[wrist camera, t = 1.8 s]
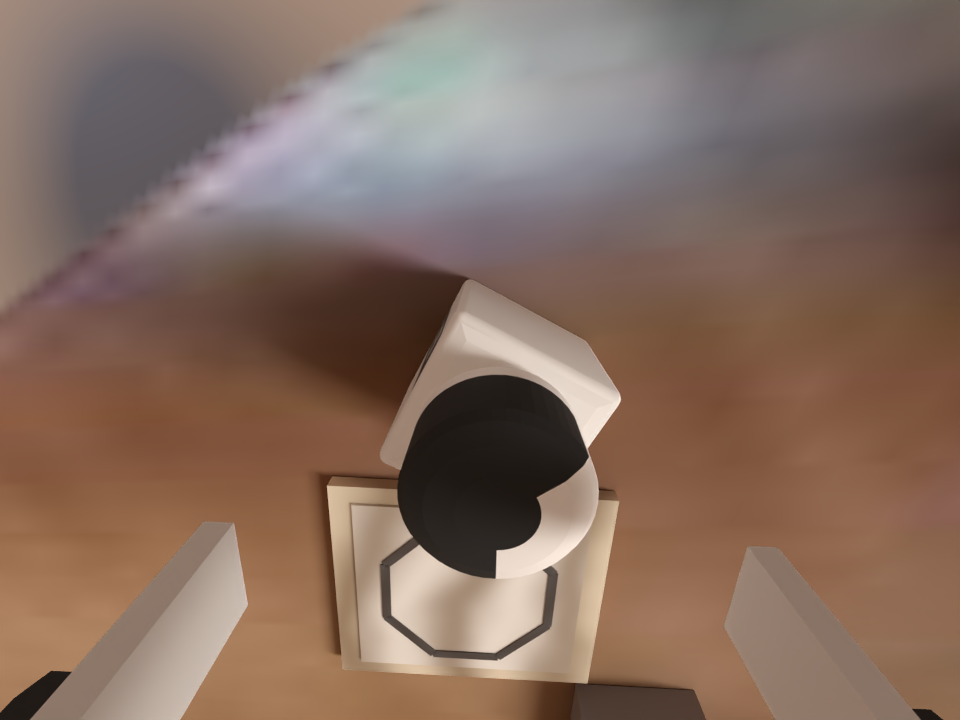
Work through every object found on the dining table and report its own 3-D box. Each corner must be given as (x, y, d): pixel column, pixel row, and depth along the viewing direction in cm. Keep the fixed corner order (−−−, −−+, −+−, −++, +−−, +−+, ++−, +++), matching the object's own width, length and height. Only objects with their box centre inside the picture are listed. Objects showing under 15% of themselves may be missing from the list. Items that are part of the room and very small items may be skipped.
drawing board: (614, 491, 29) (620, 504, 28) (584, 670, 34) (588, 687, 33) (332, 476, 29) (325, 488, 28) (346, 656, 34) (341, 673, 33)
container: (406, 390, 27) (334, 552, 15) (467, 275, 24) (441, 353, 12) (520, 446, 28) (541, 641, 16) (589, 341, 26) (677, 474, 13)
